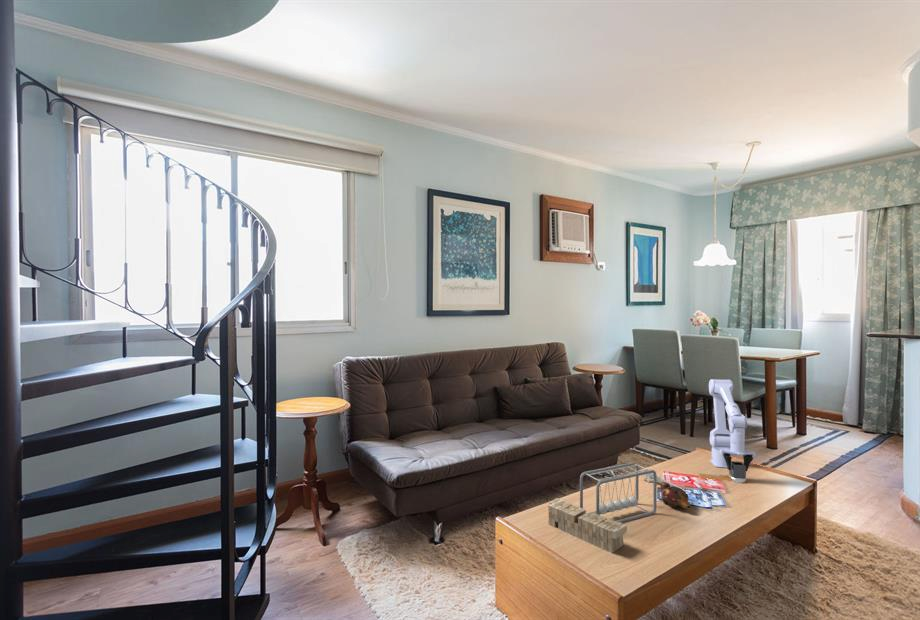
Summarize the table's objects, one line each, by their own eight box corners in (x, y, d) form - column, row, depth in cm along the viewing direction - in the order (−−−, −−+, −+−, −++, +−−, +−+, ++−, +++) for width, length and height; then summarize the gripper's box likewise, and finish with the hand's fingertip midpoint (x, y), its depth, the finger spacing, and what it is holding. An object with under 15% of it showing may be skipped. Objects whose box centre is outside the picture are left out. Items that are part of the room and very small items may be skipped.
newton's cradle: (597, 529, 164) (597, 482, 164) (579, 517, 174) (579, 472, 174) (657, 513, 176) (657, 469, 176) (636, 503, 186) (636, 461, 186)
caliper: (643, 481, 209) (643, 468, 209) (645, 480, 210) (645, 467, 209) (689, 495, 193) (689, 481, 193) (690, 494, 194) (690, 480, 194)
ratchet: (701, 480, 209) (701, 469, 209) (697, 475, 216) (697, 464, 216) (748, 483, 205) (748, 472, 205) (742, 478, 212) (742, 467, 212)
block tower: (545, 526, 169) (615, 556, 147) (544, 503, 169) (614, 530, 147) (558, 519, 175) (627, 547, 152) (557, 497, 175) (626, 522, 153)
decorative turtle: (667, 496, 192) (669, 478, 192) (698, 513, 178) (700, 494, 178) (650, 499, 188) (652, 480, 188) (680, 517, 175) (682, 497, 174)
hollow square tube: (729, 473, 212) (729, 461, 212) (741, 474, 211) (741, 462, 211) (733, 477, 207) (733, 465, 207) (745, 478, 206) (746, 465, 206)
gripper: (723, 443, 206) (723, 472, 207) (758, 445, 203) (758, 474, 204) (718, 438, 213) (718, 466, 214) (751, 440, 210) (751, 468, 211)
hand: (737, 470), depth 209 cm, fingers open, 6 cm apart
